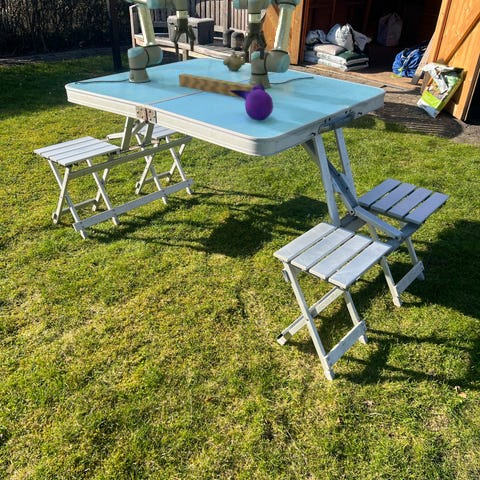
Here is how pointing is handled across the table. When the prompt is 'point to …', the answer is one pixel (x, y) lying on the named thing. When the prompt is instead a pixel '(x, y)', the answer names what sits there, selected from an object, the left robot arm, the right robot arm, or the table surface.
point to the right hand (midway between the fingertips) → (254, 61)
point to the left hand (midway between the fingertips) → (184, 52)
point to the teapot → (234, 62)
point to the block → (212, 84)
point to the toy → (256, 102)
